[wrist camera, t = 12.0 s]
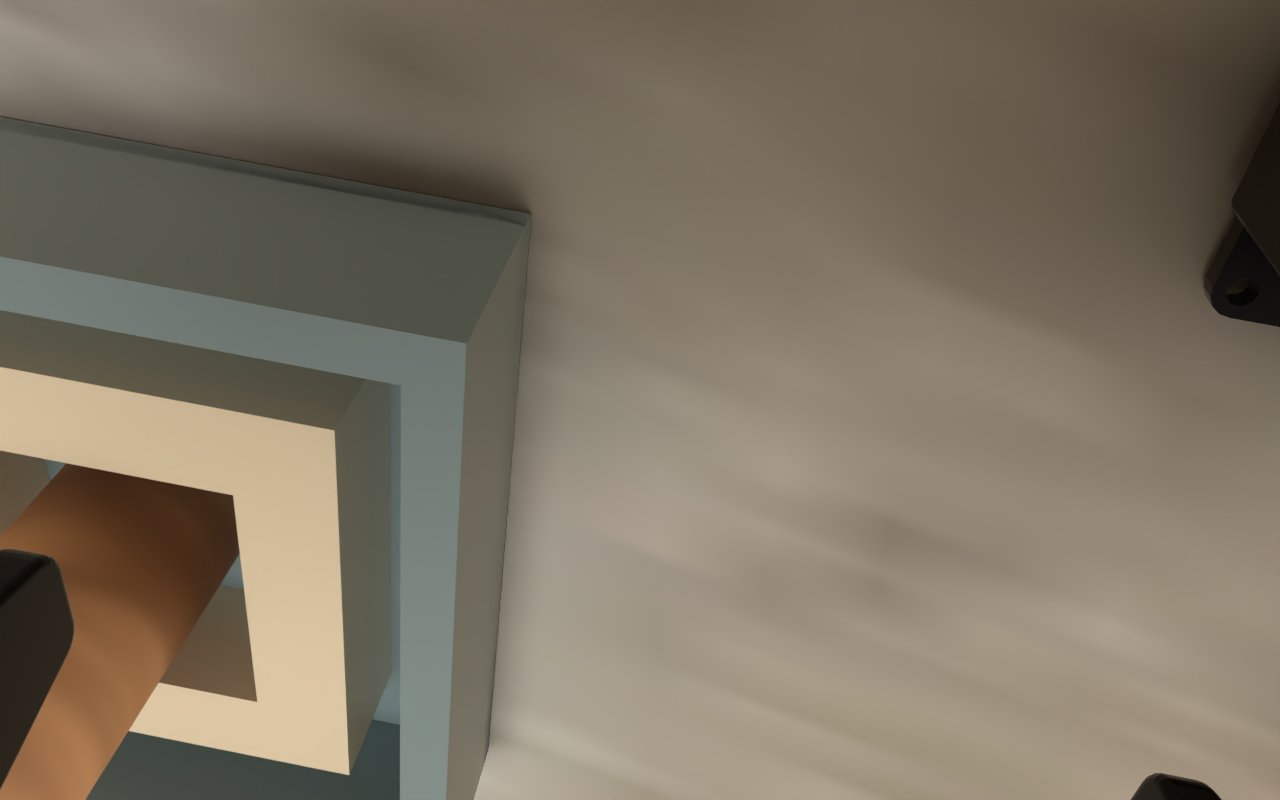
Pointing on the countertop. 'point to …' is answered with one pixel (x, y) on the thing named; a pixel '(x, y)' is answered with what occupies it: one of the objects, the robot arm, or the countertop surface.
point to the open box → (279, 446)
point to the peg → (114, 610)
